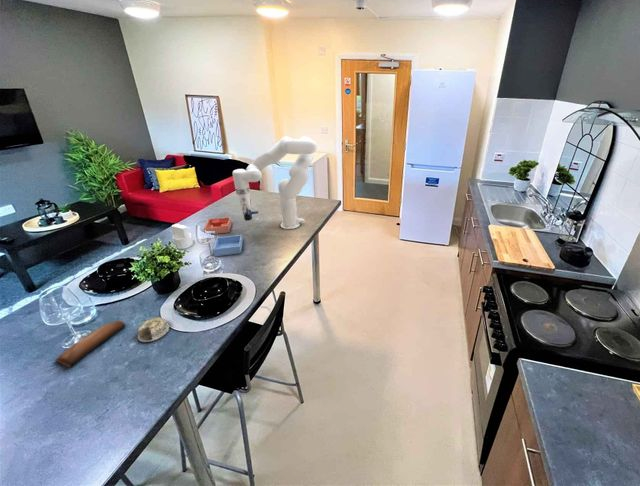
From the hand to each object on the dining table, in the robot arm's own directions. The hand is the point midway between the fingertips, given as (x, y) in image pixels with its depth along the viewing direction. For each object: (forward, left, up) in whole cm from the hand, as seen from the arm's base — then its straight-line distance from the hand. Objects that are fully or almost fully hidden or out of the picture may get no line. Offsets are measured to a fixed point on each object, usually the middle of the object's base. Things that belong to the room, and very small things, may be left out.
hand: (248, 218), depth 175 cm
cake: (+31, +72, -11) cm, 79 cm away
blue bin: (+11, +16, -10) cm, 22 cm away
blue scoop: (-2, 0, 0) cm, 2 cm away
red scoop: (+18, -11, -10) cm, 24 cm away
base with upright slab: (+36, +5, -11) cm, 37 cm away
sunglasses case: (+49, +72, -11) cm, 88 cm away
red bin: (+20, -11, -10) cm, 25 cm away
